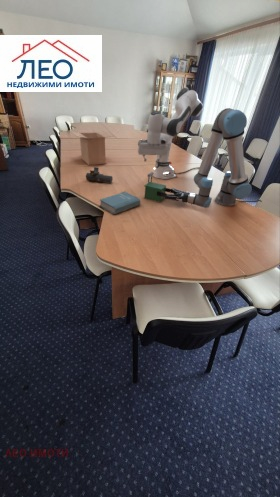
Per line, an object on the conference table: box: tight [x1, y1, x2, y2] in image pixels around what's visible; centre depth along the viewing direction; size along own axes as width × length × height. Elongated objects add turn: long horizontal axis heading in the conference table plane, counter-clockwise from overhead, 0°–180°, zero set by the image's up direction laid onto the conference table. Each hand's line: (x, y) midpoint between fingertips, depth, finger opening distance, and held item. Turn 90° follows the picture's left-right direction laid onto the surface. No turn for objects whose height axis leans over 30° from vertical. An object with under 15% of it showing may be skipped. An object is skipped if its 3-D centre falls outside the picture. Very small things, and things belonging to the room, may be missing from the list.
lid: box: [143, 171, 167, 190], centre depth 161 cm, size 14×10×9 cm
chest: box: [144, 186, 167, 203], centre depth 166 cm, size 13×10×9 cm
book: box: [99, 191, 141, 215], centre depth 152 cm, size 23×16×5 cm
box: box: [70, 129, 114, 166], centre depth 229 cm, size 44×36×27 cm
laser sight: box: [85, 166, 113, 184], centre depth 186 cm, size 10×22×10 cm, turn 78°
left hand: (151, 161), depth 155 cm, fingers open, 8 cm apart
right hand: (159, 190), depth 164 cm, fingers closed on chest, 9 cm apart
